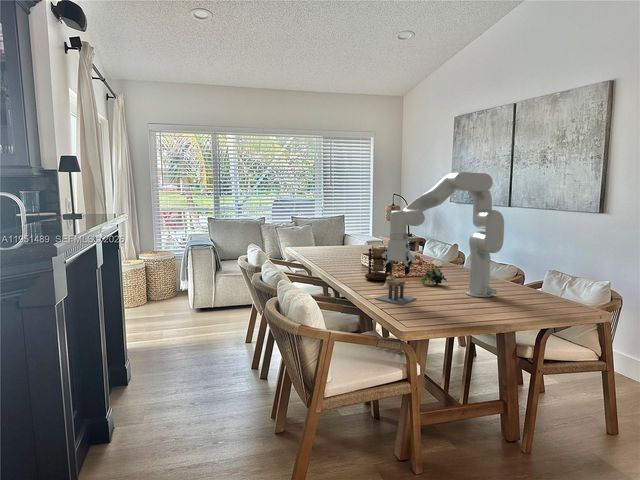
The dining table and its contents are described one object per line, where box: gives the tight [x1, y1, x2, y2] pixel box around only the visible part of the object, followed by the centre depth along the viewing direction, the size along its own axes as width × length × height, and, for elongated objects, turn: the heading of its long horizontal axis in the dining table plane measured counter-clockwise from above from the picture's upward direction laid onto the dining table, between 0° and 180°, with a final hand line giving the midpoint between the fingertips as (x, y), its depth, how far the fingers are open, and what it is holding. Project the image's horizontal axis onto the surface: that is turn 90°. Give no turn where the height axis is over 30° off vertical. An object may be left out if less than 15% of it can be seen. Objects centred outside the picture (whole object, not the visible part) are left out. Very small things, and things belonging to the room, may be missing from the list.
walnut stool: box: [388, 279, 406, 300], centre depth 197 cm, size 7×5×8 cm
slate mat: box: [374, 292, 417, 306], centre depth 197 cm, size 14×14×1 cm
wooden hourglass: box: [364, 245, 389, 282], centre depth 240 cm, size 15×15×20 cm
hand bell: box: [382, 261, 396, 290], centre depth 220 cm, size 8×8×16 cm
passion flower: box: [420, 267, 448, 287], centre depth 227 cm, size 11×11×12 cm
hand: (397, 273), depth 196 cm, fingers open, 9 cm apart
